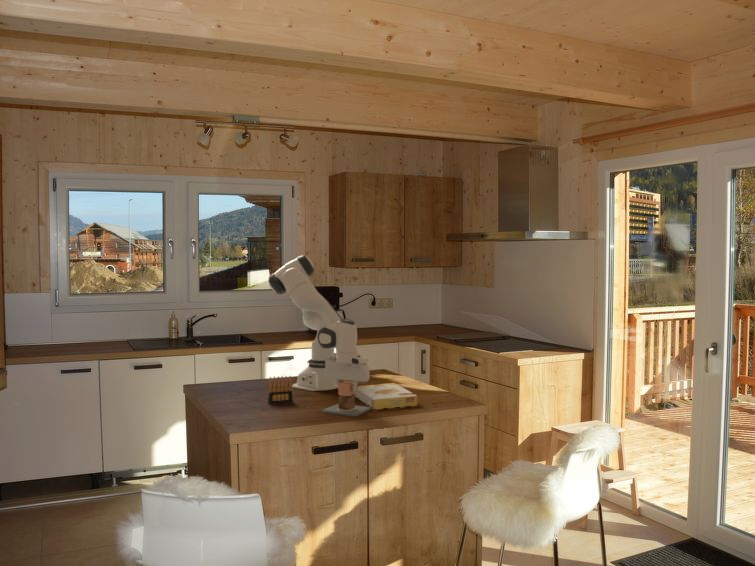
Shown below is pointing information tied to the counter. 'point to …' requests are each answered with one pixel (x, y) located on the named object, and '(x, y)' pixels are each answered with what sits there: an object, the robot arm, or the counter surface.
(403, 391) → the cereal box
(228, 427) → the counter surface
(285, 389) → the ammunition clip
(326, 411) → the board
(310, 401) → the counter surface
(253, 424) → the counter surface
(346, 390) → the terracotta cube
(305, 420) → the counter surface
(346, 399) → the walnut cube
